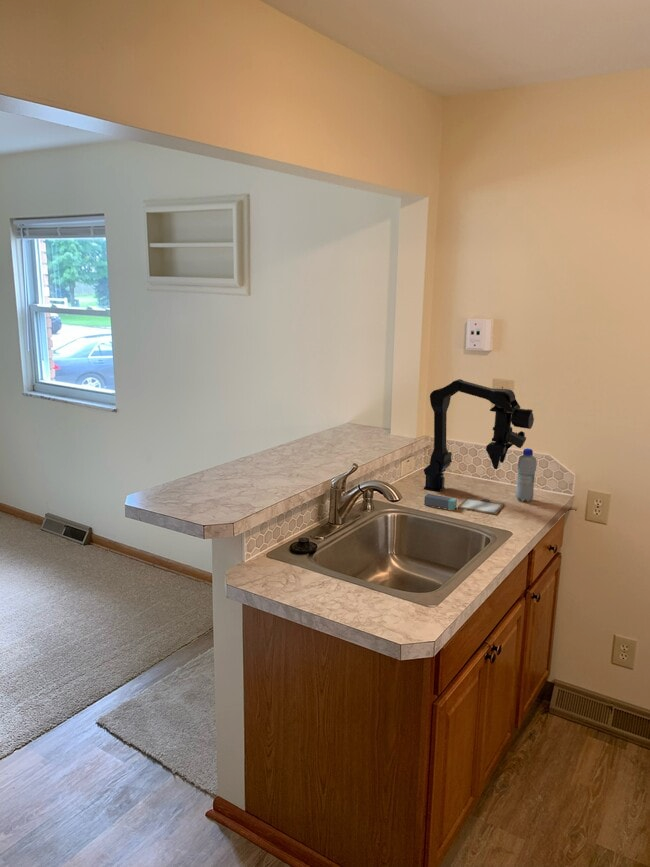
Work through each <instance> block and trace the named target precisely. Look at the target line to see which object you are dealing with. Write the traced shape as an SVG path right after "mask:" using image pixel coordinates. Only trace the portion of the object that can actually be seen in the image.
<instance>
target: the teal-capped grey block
mask: <svg viewBox="0 0 650 867" xmlns="http://www.w3.org/2000/svg"><path fill="white" fill-rule="evenodd" d="M457 500H458V498H453V497H449V496H443V495H436V494H431V493H427V494H426V495H424V503H423V506H424V505H429V506H428V507H430V506H434V507H433V508H435V507H440V508H439V509H441V508H446V509H450V510H449V511H451V510H454V509H455V508H456V509H457V507H458V506H457V505H458V503H457V502H458V501H457ZM446 509H445V510H446ZM456 509H455V510H456ZM455 510H454V511H455Z"/></svg>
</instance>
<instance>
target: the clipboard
mask: <svg viewBox="0 0 650 867" xmlns="http://www.w3.org/2000/svg"><path fill="white" fill-rule="evenodd" d="M505 505H506V504H505V503H502V502H498V501H493V500H490V499H488V498H481V499H479V498H474V497H468V496H467V497H466V498H465V499H464V500H463V501H462V502H461V503H460V504H459V505H458V506H457V509H459V508H461V509H460V510H464V509H467V510H466V511H470V510H472V512H475V511H476V512H477V513H481V514H486V513H487V515H493V516H497V515H498V514H499V512H500V511H501V510H502V509H503V508H504V507H505Z"/></svg>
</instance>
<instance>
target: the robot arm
mask: <svg viewBox="0 0 650 867" xmlns="http://www.w3.org/2000/svg"><path fill="white" fill-rule="evenodd" d="M458 392H459V393H464V394H467V395H470V396H474V397H477V398H481V399H484V400H487V401H489V403H491V404H492V405H493V407H492V408H490V409H489V412H494V413H495V416H494V425H493V427H492V431H493V436H492V438H491V441H490V442H489V443H488V444H487V445H486V447H485V452H486V453H487V454H488V456H489V459H490V462H491V464H492V467H493V470H497V469H498V468H499V465H500V463H502V464H503V463H504V462H505V459H506V456H507V454H508V451H509V449H510V448H511V447H513V446H515V447H516V448H519V449H521V448H522V447H523V446H524V444H525V442H526V440H527V437H526V432H524V431H522V430H520V431H519V432H517V431H516V432H514V431H513V427H516V428H520V429H521V428H522V429H528V430H531V429H532V428H533V424H534V421H535V417H534V413H533V409H529V408H528V409H525V408H521V406H520V404H519V402H518V400H517V399H516V394H515V393H514V391H513V390H511V389H509V388H492V387H487V386H484V385H480V384H477V383H472V382H469V381H466V380H463V379H461V378H460V379H455V380H453V381H452V382H451V383H449V384H448V385H445V386H444V387H439V388H437V389H433V391H431V392H430V394H429V401H430V406H431V408H432V410H433V450H432V452H431V455H430V460H429V465H427V466H426V467H424V469H423V473H424V476H425V486H424V487H423V489H424V490H429V491H434V492H440V491H442V490H443V489H444V488H445V483H446V482H445V481H446V480H445V479H446V478H445V477H444V475H445V474H444V472H446V470H447V469H448V468H449V467H450V465H451V463H453V461H452V451H448V448H447V416H448V414H447V411H448V410H449V407H450V404H451V398H452V396H454V395H456V394H457V393H458ZM512 425H513V426H512Z"/></svg>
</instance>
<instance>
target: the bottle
mask: <svg viewBox="0 0 650 867" xmlns="http://www.w3.org/2000/svg"><path fill="white" fill-rule="evenodd" d="M522 452H523V453H522V454H523V455H520V456H519V458H518V461H517V470H518V472H517V482H516V490H515V497H516V499H517V501H519V502H520V501H521V503H522V502H523V503H524V502H525V501H526V503H529V502H531V501H533V499H534V494H535V493H534V488H535V487H534V485H535V484H534V483H535V476H536V475H535V474H536V471H537V458H536V457H535V456H533V453H534V450H533V449H531V448H524V449H523V451H522Z"/></svg>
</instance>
